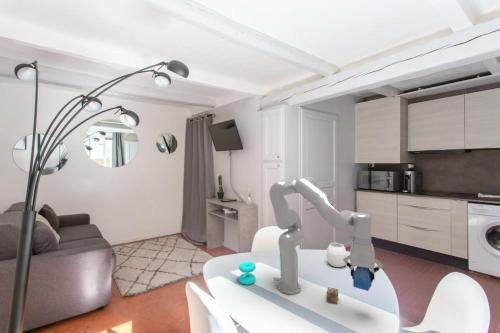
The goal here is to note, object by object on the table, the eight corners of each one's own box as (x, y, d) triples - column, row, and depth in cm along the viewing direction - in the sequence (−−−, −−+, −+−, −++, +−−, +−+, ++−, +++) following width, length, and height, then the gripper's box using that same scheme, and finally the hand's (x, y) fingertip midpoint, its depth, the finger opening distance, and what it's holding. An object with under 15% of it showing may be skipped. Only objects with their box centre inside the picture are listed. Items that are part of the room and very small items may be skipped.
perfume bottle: (357, 281, 117) (357, 256, 116) (371, 285, 113) (371, 259, 112) (353, 286, 112) (353, 260, 111) (368, 291, 108) (367, 264, 108)
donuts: (240, 260, 151) (256, 261, 149) (241, 276, 151) (257, 277, 149) (236, 267, 141) (253, 268, 139) (237, 284, 141) (254, 286, 139)
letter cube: (326, 301, 123) (326, 291, 123) (328, 296, 127) (327, 286, 127) (337, 304, 121) (337, 293, 121) (338, 298, 125) (338, 288, 125)
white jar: (322, 264, 165) (322, 245, 165) (332, 259, 174) (332, 240, 174) (341, 271, 156) (341, 250, 155) (351, 264, 165) (350, 244, 164)
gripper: (340, 240, 112) (341, 279, 113) (384, 245, 104) (384, 287, 105) (342, 236, 119) (342, 272, 119) (383, 240, 111) (383, 279, 112)
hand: (362, 278), depth 112 cm, fingers closed on perfume bottle, 7 cm apart
